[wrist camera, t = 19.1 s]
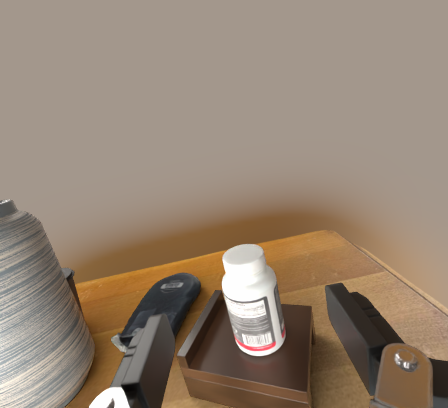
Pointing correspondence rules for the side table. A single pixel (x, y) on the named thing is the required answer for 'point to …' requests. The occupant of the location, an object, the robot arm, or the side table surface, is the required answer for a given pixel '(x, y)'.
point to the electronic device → (161, 306)
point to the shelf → (248, 361)
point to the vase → (37, 319)
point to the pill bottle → (253, 300)
